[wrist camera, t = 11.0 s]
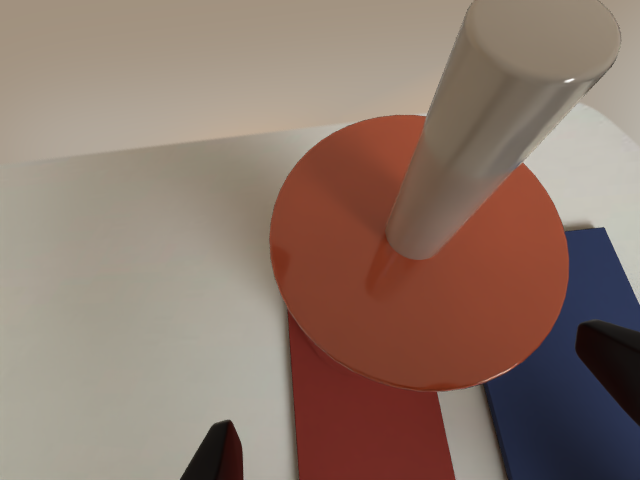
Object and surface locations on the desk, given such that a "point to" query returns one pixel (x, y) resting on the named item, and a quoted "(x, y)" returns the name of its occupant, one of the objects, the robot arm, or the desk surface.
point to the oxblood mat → (362, 424)
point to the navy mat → (570, 383)
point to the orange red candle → (444, 209)
